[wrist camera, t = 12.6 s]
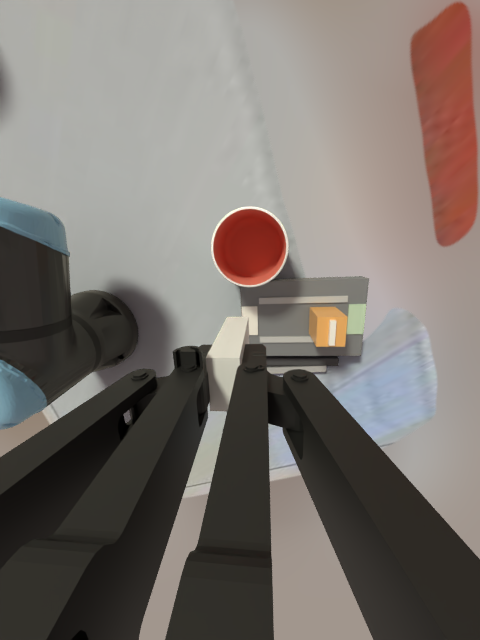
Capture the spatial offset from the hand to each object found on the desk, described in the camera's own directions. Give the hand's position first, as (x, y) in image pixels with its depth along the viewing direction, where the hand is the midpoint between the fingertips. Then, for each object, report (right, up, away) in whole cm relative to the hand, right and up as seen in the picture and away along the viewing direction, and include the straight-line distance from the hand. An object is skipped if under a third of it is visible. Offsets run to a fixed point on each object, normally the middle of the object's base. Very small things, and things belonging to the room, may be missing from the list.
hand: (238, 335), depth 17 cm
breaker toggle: (+13, +1, +23) cm, 26 cm away
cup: (+2, +13, +24) cm, 27 cm away
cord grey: (+9, -8, +29) cm, 32 cm away
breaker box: (+11, +2, +26) cm, 28 cm away
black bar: (+10, -6, +29) cm, 31 cm away
